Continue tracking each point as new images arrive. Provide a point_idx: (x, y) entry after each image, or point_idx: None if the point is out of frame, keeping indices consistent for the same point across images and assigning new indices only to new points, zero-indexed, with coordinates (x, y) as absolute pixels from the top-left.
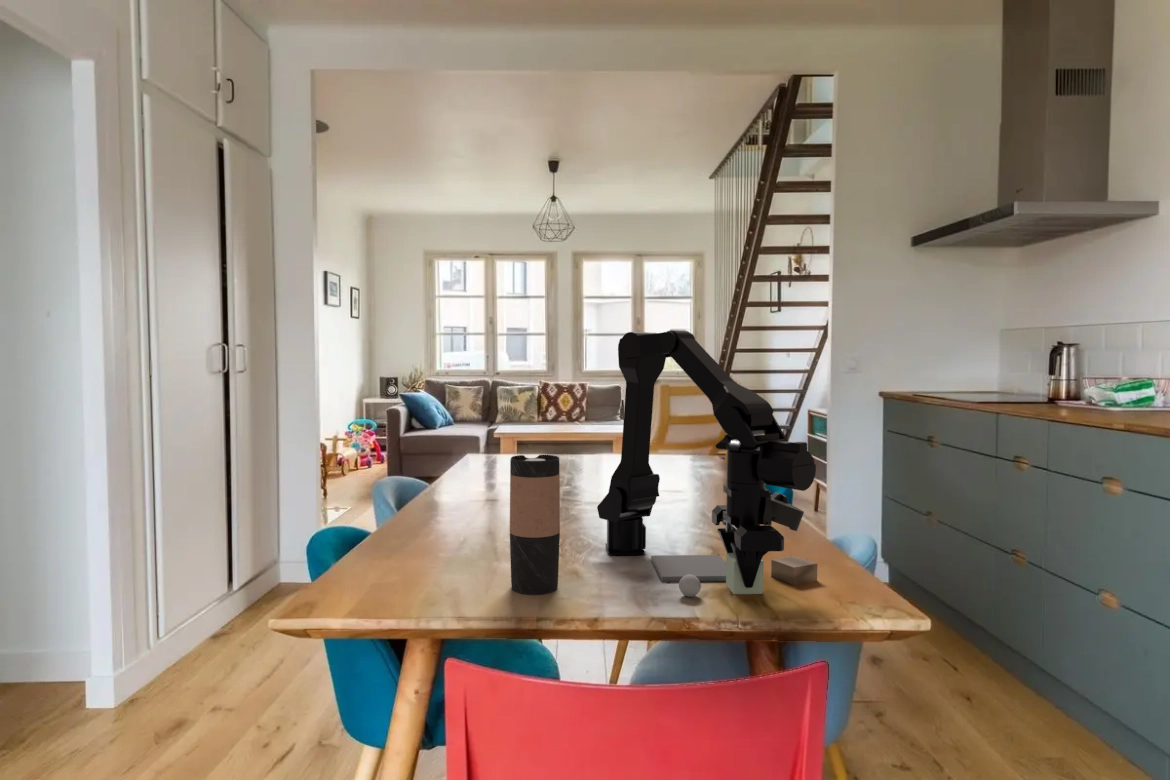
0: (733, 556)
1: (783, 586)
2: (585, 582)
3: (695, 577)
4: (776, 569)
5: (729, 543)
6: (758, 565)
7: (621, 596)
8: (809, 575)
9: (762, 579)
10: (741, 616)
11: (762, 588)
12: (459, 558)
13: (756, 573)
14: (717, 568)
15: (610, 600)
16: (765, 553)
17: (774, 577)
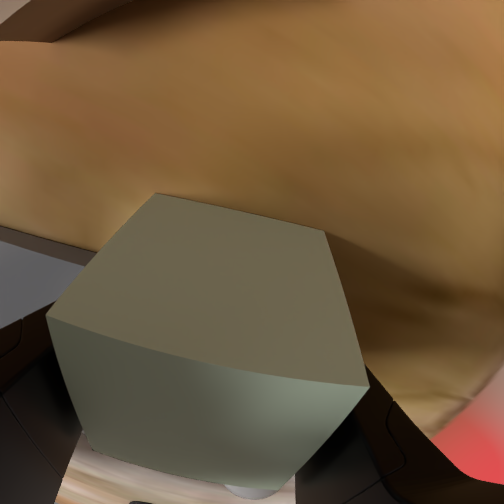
0: (175, 467)
1: (231, 36)
2: (135, 488)
3: (266, 490)
4: (53, 17)
5: (49, 478)
6: (402, 419)
7: (219, 492)
8: None
9: (336, 280)
10: (456, 388)
11: (325, 247)
12: (60, 492)
13: (369, 372)
14: (4, 289)
15: (237, 500)
16: (493, 486)
17: (70, 30)
